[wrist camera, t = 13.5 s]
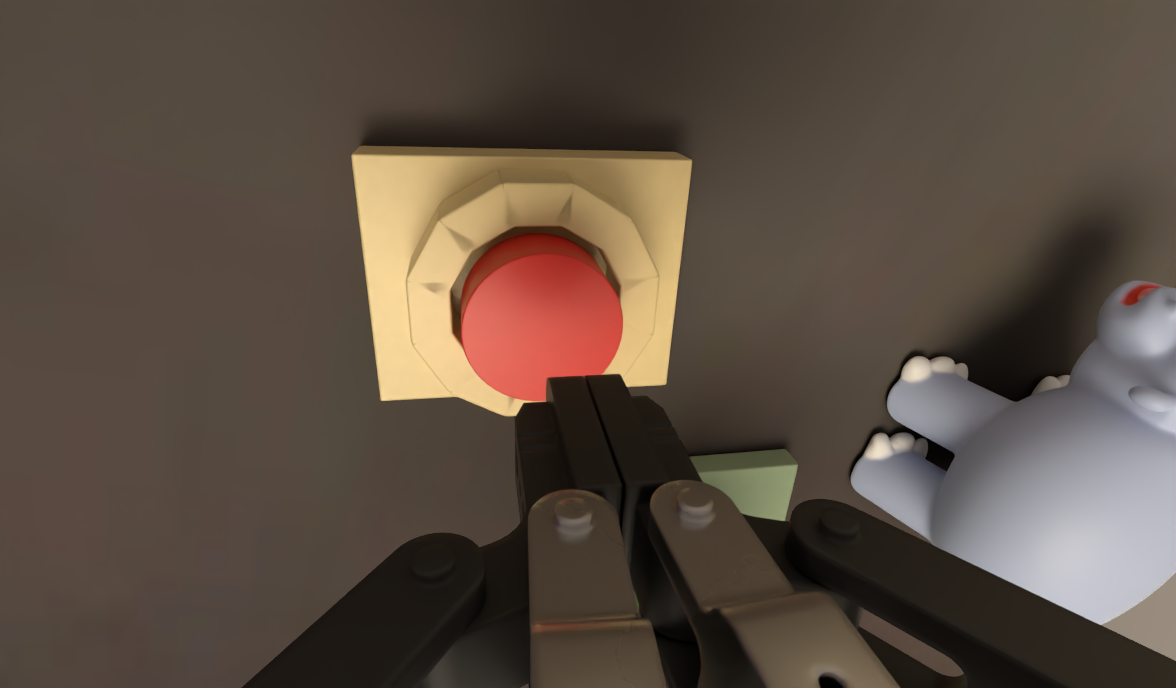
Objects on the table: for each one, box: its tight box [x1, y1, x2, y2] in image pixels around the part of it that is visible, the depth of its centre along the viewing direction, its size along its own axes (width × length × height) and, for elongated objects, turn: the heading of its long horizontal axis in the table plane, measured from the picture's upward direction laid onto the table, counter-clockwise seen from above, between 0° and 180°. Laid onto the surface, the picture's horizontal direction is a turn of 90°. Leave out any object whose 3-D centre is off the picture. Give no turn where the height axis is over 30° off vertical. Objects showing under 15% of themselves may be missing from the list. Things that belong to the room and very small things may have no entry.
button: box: [461, 233, 623, 401], centre depth 17 cm, size 4×4×2 cm
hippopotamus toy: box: [851, 280, 1176, 625], centre depth 24 cm, size 11×15×10 cm
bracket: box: [634, 449, 798, 609], centre depth 22 cm, size 11×9×13 cm
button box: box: [351, 146, 692, 416], centre depth 19 cm, size 10×8×4 cm
